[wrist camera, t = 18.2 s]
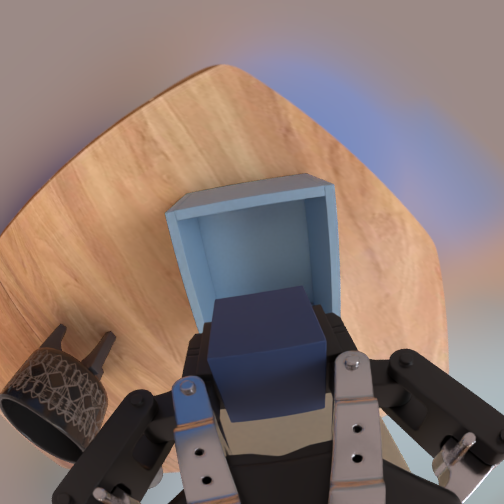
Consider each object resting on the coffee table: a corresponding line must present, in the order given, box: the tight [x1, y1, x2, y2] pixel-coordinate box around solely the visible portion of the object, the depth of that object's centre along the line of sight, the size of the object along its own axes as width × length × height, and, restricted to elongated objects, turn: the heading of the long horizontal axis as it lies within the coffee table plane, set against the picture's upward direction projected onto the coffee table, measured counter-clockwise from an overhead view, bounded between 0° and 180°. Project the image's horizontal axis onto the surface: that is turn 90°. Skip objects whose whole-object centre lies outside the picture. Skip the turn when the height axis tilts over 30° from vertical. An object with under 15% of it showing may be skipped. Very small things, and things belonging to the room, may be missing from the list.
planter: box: [0, 324, 116, 464], centre depth 26 cm, size 13×13×18 cm
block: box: [207, 285, 326, 423], centre depth 11 cm, size 4×4×4 cm
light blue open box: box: [165, 173, 340, 334], centre depth 26 cm, size 16×13×9 cm
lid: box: [220, 393, 411, 472], centre depth 17 cm, size 16×13×5 cm
